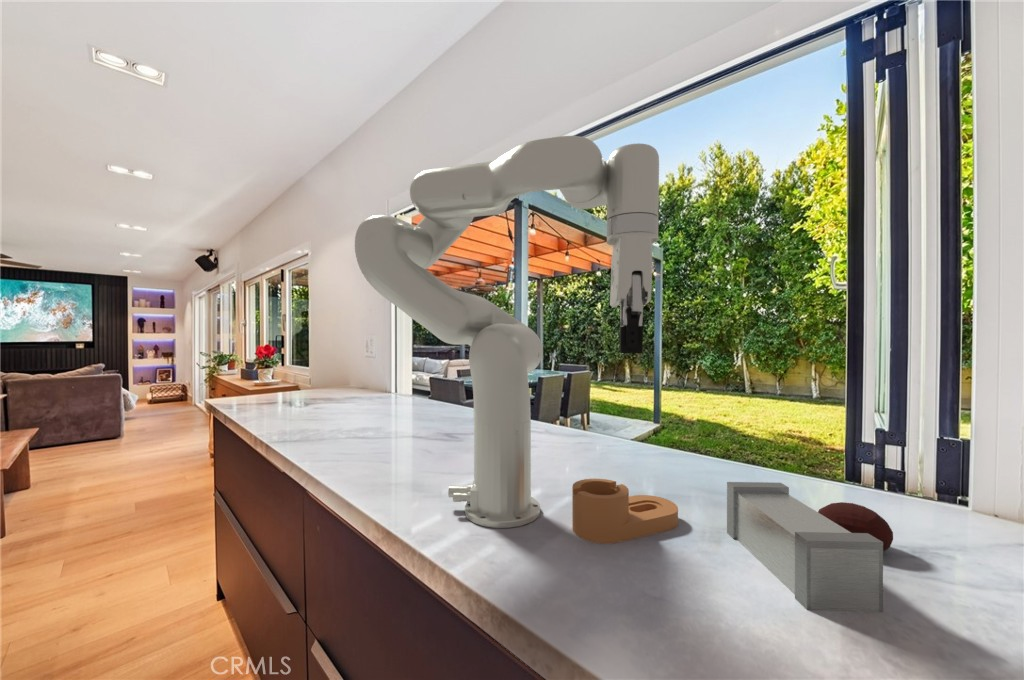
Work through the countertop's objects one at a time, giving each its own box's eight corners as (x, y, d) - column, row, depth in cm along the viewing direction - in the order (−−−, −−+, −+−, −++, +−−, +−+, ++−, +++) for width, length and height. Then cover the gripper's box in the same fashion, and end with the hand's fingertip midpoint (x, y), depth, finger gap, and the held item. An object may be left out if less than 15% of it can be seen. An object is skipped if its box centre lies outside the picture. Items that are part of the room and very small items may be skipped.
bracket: (593, 552, 57) (593, 502, 57) (562, 527, 65) (562, 482, 65) (689, 527, 65) (689, 483, 65) (651, 507, 72) (651, 468, 72)
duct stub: (806, 613, 44) (806, 540, 44) (726, 533, 62) (726, 481, 62) (882, 615, 44) (883, 542, 44) (780, 534, 62) (780, 482, 62)
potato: (822, 529, 64) (822, 490, 64) (895, 549, 58) (896, 505, 58) (810, 545, 59) (810, 503, 59) (889, 569, 53) (889, 521, 53)
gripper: (602, 243, 71) (601, 351, 71) (612, 219, 56) (611, 354, 56) (647, 242, 70) (646, 351, 70) (670, 217, 55) (668, 355, 55)
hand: (630, 352), depth 63 cm, fingers closed
